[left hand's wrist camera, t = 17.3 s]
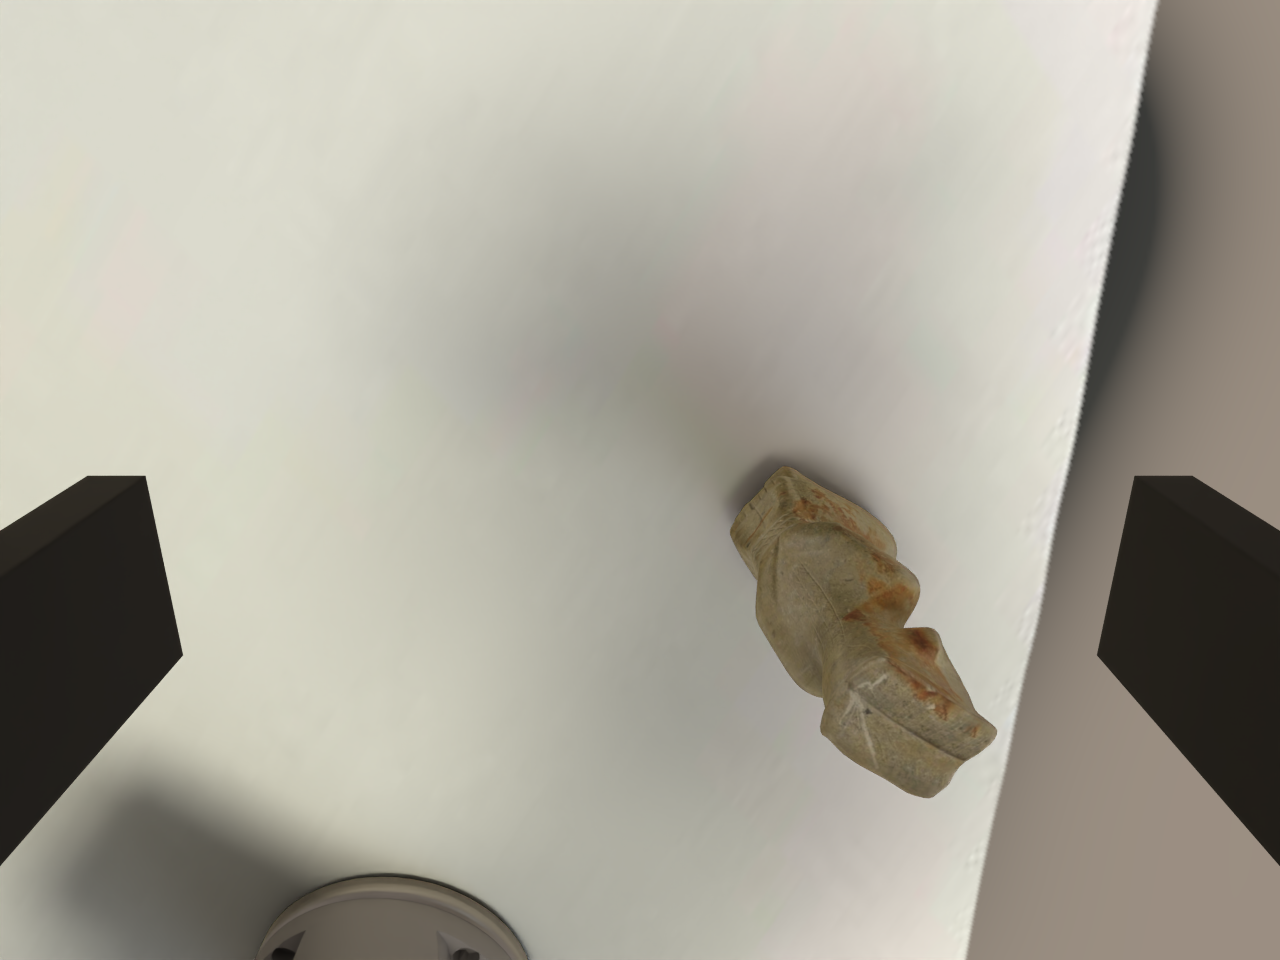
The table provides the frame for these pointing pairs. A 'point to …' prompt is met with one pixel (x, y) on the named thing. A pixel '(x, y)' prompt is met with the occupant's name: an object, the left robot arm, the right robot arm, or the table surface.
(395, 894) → the left robot arm
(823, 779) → the table surface
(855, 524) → the sculpture
